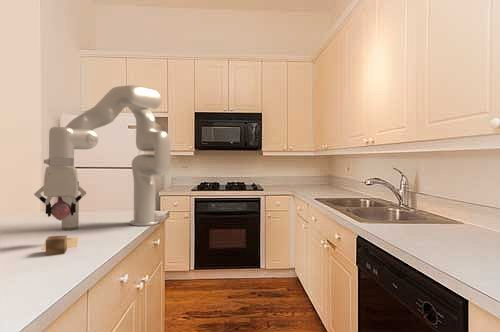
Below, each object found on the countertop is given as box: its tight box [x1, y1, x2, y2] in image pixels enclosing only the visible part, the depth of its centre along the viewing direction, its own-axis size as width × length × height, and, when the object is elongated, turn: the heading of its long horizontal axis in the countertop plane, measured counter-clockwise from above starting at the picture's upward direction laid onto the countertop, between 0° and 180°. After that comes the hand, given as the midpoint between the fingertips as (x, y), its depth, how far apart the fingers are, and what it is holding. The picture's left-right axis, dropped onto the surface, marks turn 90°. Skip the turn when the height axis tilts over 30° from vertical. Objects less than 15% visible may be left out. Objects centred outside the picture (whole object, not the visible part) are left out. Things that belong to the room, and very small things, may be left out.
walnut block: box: [45, 235, 68, 256], centre depth 104 cm, size 5×5×5 cm
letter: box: [41, 236, 79, 251], centre depth 116 cm, size 10×15×1 cm, turn 26°
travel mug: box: [61, 181, 80, 231], centre depth 141 cm, size 6×7×20 cm
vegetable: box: [51, 197, 71, 222], centre depth 115 cm, size 6×6×10 cm
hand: (60, 215), depth 115 cm, fingers closed on vegetable, 6 cm apart
